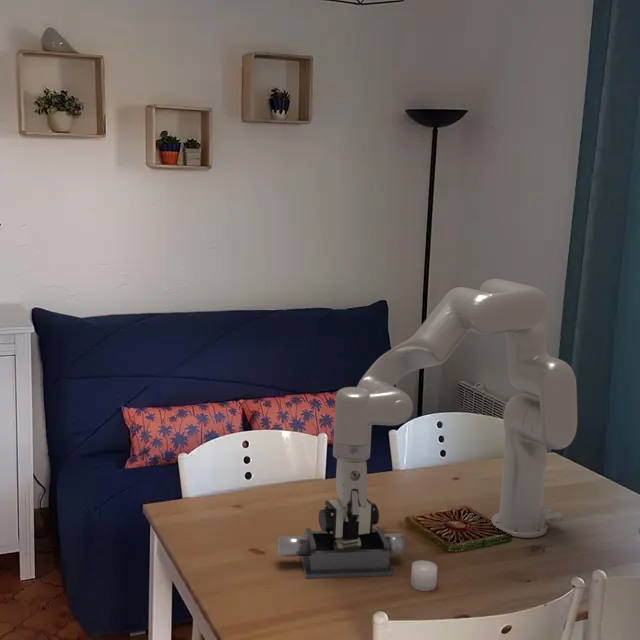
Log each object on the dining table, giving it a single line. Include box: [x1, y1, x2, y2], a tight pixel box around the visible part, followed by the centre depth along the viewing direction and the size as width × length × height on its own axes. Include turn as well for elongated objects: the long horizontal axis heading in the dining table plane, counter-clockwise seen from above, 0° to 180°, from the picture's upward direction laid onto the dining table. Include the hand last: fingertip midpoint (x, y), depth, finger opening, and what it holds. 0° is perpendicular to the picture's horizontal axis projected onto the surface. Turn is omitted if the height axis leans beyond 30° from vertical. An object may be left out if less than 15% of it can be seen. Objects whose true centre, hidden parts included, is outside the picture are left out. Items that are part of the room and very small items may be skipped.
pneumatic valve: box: [318, 498, 380, 551], centre depth 173 cm, size 6×12×12 cm, turn 112°
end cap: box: [410, 559, 438, 592], centre depth 166 cm, size 5×5×4 cm
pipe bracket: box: [277, 526, 406, 579], centre depth 174 cm, size 26×12×6 cm, turn 99°
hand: (347, 531), depth 173 cm, fingers closed on pneumatic valve, 5 cm apart
